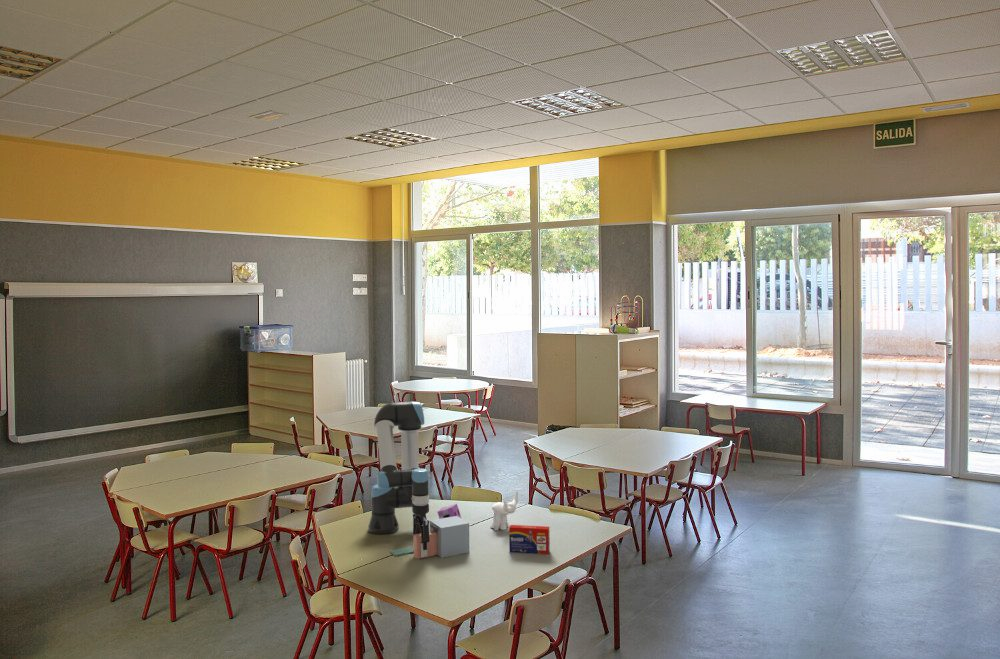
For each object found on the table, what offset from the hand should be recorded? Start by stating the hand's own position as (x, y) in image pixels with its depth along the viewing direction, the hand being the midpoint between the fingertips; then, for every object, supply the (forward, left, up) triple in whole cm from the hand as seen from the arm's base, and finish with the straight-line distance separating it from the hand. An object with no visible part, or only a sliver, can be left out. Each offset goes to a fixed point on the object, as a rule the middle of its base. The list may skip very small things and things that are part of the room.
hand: (421, 554), depth 330 cm
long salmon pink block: (0, +5, -1) cm, 5 cm away
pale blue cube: (0, +14, -1) cm, 14 cm away
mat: (-9, -2, -1) cm, 9 cm away
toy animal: (-17, +52, -1) cm, 55 cm away
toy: (-19, +24, -1) cm, 31 cm away
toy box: (+20, +45, -1) cm, 49 cm away
